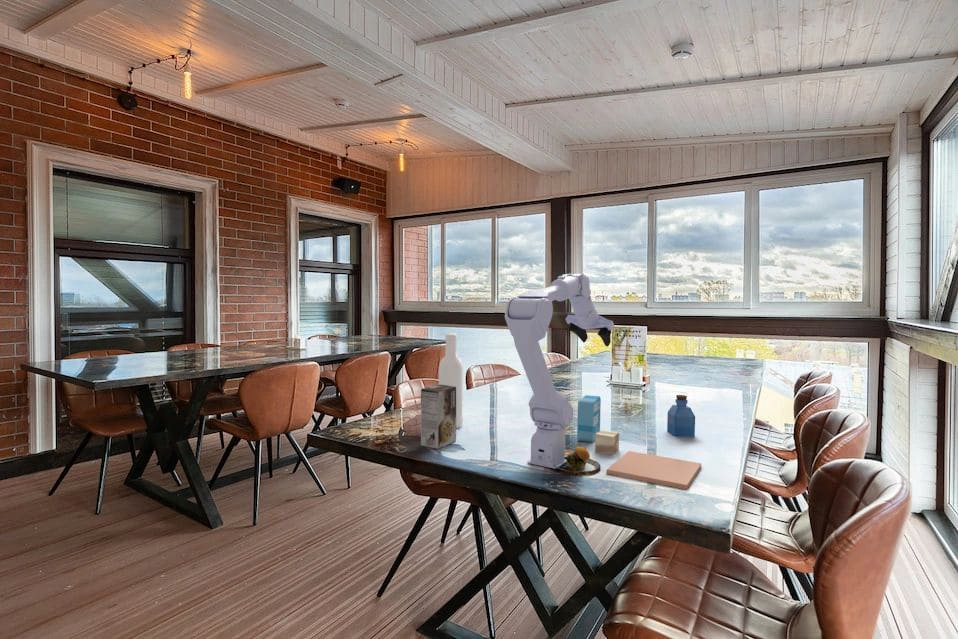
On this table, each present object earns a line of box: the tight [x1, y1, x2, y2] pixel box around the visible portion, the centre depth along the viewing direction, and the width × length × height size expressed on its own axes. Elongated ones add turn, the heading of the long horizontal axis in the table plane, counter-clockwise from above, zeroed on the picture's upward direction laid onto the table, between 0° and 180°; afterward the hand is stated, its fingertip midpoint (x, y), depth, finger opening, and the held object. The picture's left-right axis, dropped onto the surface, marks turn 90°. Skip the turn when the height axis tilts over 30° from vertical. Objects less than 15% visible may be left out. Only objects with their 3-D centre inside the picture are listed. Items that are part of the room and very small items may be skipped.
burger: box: [555, 442, 602, 476], centre depth 124 cm, size 12×12×8 cm
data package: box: [576, 394, 601, 443], centre depth 151 cm, size 12×4×12 cm, turn 156°
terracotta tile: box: [606, 450, 702, 490], centre depth 123 cm, size 18×18×1 cm
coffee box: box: [420, 384, 457, 450], centre depth 143 cm, size 9×6×16 cm
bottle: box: [438, 333, 464, 430], centre depth 163 cm, size 8×8×30 cm
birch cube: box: [594, 429, 620, 456], centre depth 138 cm, size 5×5×5 cm
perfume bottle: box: [666, 394, 696, 438], centre depth 157 cm, size 6×6×12 cm
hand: (596, 342), depth 150 cm, fingers open, 7 cm apart
